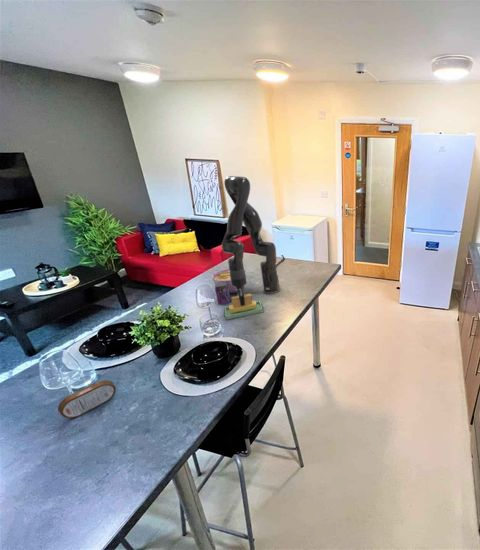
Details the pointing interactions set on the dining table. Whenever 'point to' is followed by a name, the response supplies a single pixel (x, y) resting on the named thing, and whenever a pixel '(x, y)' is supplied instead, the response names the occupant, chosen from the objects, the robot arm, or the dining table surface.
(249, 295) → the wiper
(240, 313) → the tray
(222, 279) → the bowl of food
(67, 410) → the tin
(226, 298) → the beverage can
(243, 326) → the dining table surface
